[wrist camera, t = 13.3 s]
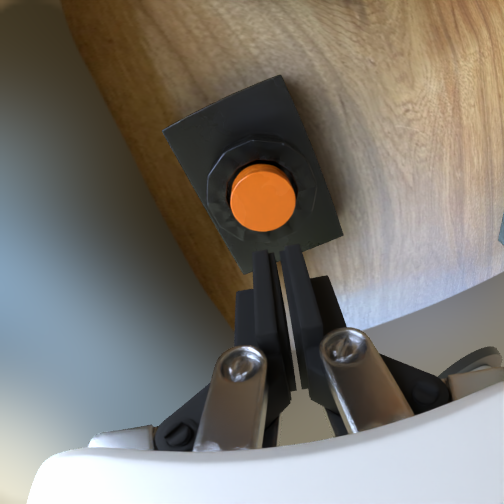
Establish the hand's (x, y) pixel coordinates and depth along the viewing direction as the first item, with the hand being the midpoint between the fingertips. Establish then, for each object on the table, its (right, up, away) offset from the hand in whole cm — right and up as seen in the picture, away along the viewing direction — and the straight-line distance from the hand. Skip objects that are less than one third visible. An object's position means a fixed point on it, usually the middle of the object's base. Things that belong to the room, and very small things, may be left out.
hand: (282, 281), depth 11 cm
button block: (-1, +7, +10) cm, 12 cm away
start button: (-1, +5, +7) cm, 9 cm away
